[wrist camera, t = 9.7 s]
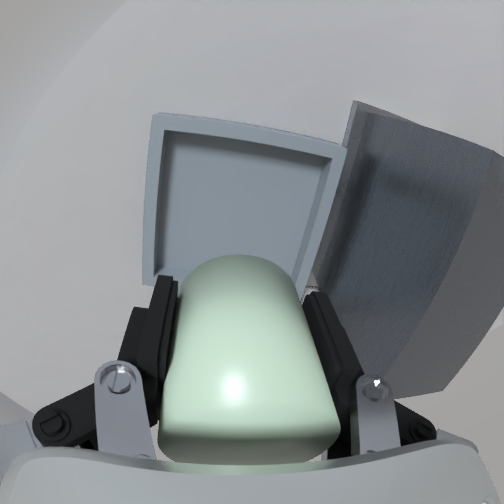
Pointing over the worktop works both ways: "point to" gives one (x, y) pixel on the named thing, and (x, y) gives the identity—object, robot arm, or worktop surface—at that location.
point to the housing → (413, 249)
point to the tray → (234, 195)
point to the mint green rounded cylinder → (243, 370)
